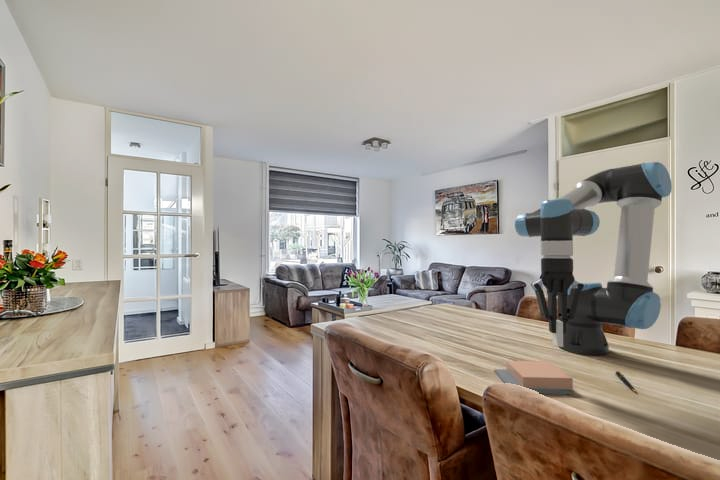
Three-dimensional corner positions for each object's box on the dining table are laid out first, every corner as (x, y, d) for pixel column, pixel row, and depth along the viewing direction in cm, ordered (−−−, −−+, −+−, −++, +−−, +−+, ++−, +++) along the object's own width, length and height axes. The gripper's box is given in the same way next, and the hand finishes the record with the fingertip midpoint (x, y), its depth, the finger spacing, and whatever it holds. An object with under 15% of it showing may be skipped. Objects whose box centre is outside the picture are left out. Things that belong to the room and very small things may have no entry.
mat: (543, 372, 100) (543, 370, 100) (571, 394, 85) (571, 392, 85) (494, 370, 101) (493, 369, 101) (512, 393, 86) (512, 391, 86)
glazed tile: (549, 361, 98) (506, 360, 99) (572, 378, 86) (523, 377, 87) (550, 372, 98) (506, 371, 99) (572, 390, 86) (523, 388, 87)
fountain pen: (638, 395, 85) (638, 388, 85) (632, 394, 85) (632, 388, 85) (618, 374, 98) (618, 369, 98) (613, 373, 98) (613, 368, 98)
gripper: (574, 256, 96) (575, 341, 95) (525, 256, 97) (526, 340, 96) (590, 257, 88) (591, 349, 88) (537, 257, 89) (538, 349, 89)
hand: (557, 345), depth 92 cm, fingers closed
